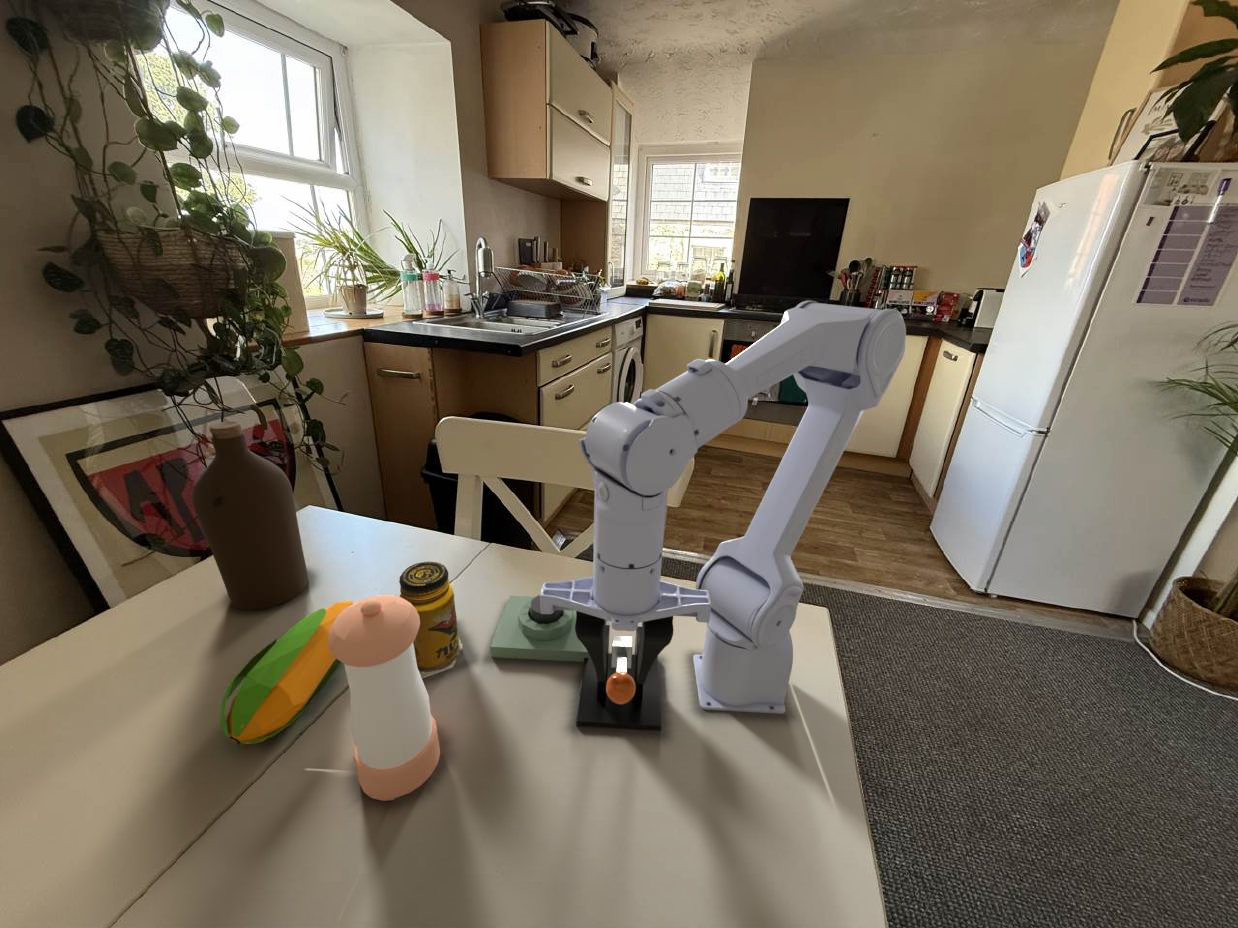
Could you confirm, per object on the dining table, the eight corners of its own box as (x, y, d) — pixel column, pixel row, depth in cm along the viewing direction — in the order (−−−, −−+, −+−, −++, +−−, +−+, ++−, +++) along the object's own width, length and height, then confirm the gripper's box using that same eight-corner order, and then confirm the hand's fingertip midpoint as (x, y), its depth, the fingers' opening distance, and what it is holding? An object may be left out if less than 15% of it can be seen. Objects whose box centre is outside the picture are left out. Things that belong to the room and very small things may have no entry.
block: (594, 610, 70) (595, 590, 69) (588, 664, 61) (588, 641, 59) (510, 606, 70) (509, 585, 69) (491, 658, 61) (489, 636, 60)
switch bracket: (660, 732, 52) (666, 676, 49) (575, 727, 52) (576, 672, 49) (657, 661, 62) (661, 611, 59) (585, 657, 62) (585, 607, 59)
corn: (182, 702, 45) (315, 572, 63) (201, 760, 47) (322, 620, 66) (265, 711, 45) (373, 578, 63) (278, 768, 48) (378, 626, 66)
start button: (563, 604, 66) (563, 594, 65) (559, 625, 62) (559, 614, 62) (533, 603, 66) (533, 592, 66) (527, 623, 62) (527, 612, 62)
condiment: (470, 660, 61) (462, 579, 56) (396, 690, 56) (380, 604, 52) (452, 625, 66) (443, 548, 61) (384, 649, 62) (369, 568, 57)
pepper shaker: (381, 728, 52) (350, 574, 44) (451, 732, 51) (431, 578, 44) (343, 798, 45) (298, 631, 37) (423, 803, 45) (394, 636, 37)
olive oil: (318, 595, 71) (279, 429, 61) (226, 624, 65) (166, 445, 55) (308, 560, 78) (271, 408, 69) (224, 583, 72) (171, 420, 63)
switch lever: (635, 710, 45) (636, 681, 45) (604, 709, 45) (606, 679, 45) (633, 659, 56) (634, 635, 56) (609, 657, 56) (610, 633, 56)
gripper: (531, 573, 37) (535, 705, 43) (723, 583, 37) (704, 714, 42) (546, 526, 44) (549, 646, 49) (710, 534, 44) (695, 654, 49)
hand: (621, 674), depth 46 cm, fingers open, 3 cm apart
